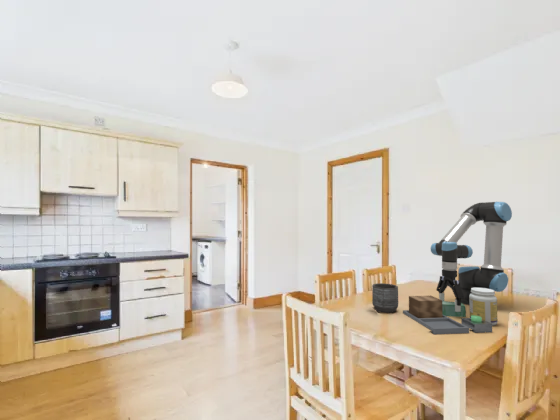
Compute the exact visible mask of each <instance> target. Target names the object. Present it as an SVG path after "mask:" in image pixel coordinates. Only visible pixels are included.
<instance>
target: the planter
mask: <svg viewBox="0 0 560 420" xmlns="http://www.w3.org/2000/svg"><path fill="white" fill-rule="evenodd" d="M371 288H372V289H371V290H372V291H371V292H372V293H371V294H372V295H371V296H372V300H371V302H372V306H373V308H374V309H375V310H376V312H377V313H378V314H379V313H384V314H386V313H387V314H391V313H396V311H397V309H398V308H399V286H398V285H396V284H392V283H386V282H385V283H383V282H382V283H381V282H380V283H379V282H377V283H372V286H371Z"/></svg>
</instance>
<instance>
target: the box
mask: <svg viewBox="0 0 560 420" xmlns="http://www.w3.org/2000/svg"><path fill="white" fill-rule="evenodd" d="M442 315H444V316H446V317H454V318H455V317H456V318H457V317H458V318H467V317H466V316H467V310H466V304H462V303H461V312H455V301H446V300H444V301H442Z"/></svg>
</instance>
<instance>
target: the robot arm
mask: <svg viewBox="0 0 560 420" xmlns="http://www.w3.org/2000/svg"><path fill="white" fill-rule="evenodd" d="M512 215H513V212H512V209H511V207H510V205H509V204H508V203H507V202H505V201H487V202H477V203H474V204H472V205H470V206H469V207H468V208H466V209H465V210H464V211H463V212H462V213H461V214H460V218H458V220H457V221H456V222H455V224H454V225H453V226H452V227H451V228H450V229H449V230H448V231H447V233H446V234H445V235H444V236H443V237H442V238H441V240H440V241H439V242H434V243H432V244H431V246H430V252H431V254H432V255H434V256H439V257H441V275H439V280H438V283H437V287H436V291H437V292H438V299H440V300H442V301H445V291H446V289H447V287H449V288H450V289H451V290H452V294H453V295H454V297H455V298H454V302H455V312H461V303H462V304H464V305H467V306H469V295H470V294H471V293H472V292H471V288H487V289H492V290H494V291H495V293H496V292H497V293H501V292H503V291H505V289H506V288H507V286H508V284H509V277H508V275H507V273H505V270H504V268H503V267H502V257H503V256H502V255H503V254H502V252H503V237H504V236H503V235H504V227H505V226H507V222H509V221H510V220H511V219H512ZM480 221H482V222H483V225H485V235H484V236H485V237H484V238H485V239H484V252H483V253H484V255H483V264H482V265H481V266H478V265H477V266H475V265H474V266H473V265H471V266H470V265H469V266H460V267H459V268H458V259H468V258H471V257H472V256H473V253H474V252H473V249H472V247H471V246H470V245H467V244H458V241H460V239H462V237H463V236H464V235H465V233H467V231H468V230H469V228H471V227H472V226H473V225H475V224H476V223H477V222H480ZM457 270H458V271H457ZM457 277H458V279H456V278H457Z"/></svg>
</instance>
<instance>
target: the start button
mask: <svg viewBox="0 0 560 420" xmlns="http://www.w3.org/2000/svg"><path fill="white" fill-rule="evenodd" d="M471 321H473V322H475V323H482V317H480V316H476V315H471Z"/></svg>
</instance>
